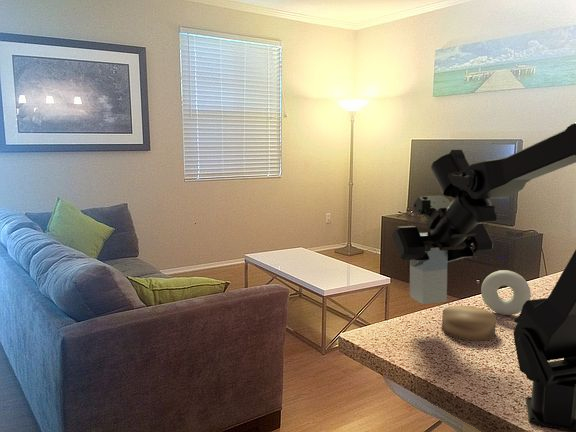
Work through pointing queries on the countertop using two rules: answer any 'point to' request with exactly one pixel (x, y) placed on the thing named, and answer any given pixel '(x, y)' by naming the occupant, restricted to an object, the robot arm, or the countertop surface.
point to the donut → (508, 279)
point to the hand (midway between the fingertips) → (424, 263)
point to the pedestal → (468, 323)
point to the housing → (430, 278)
